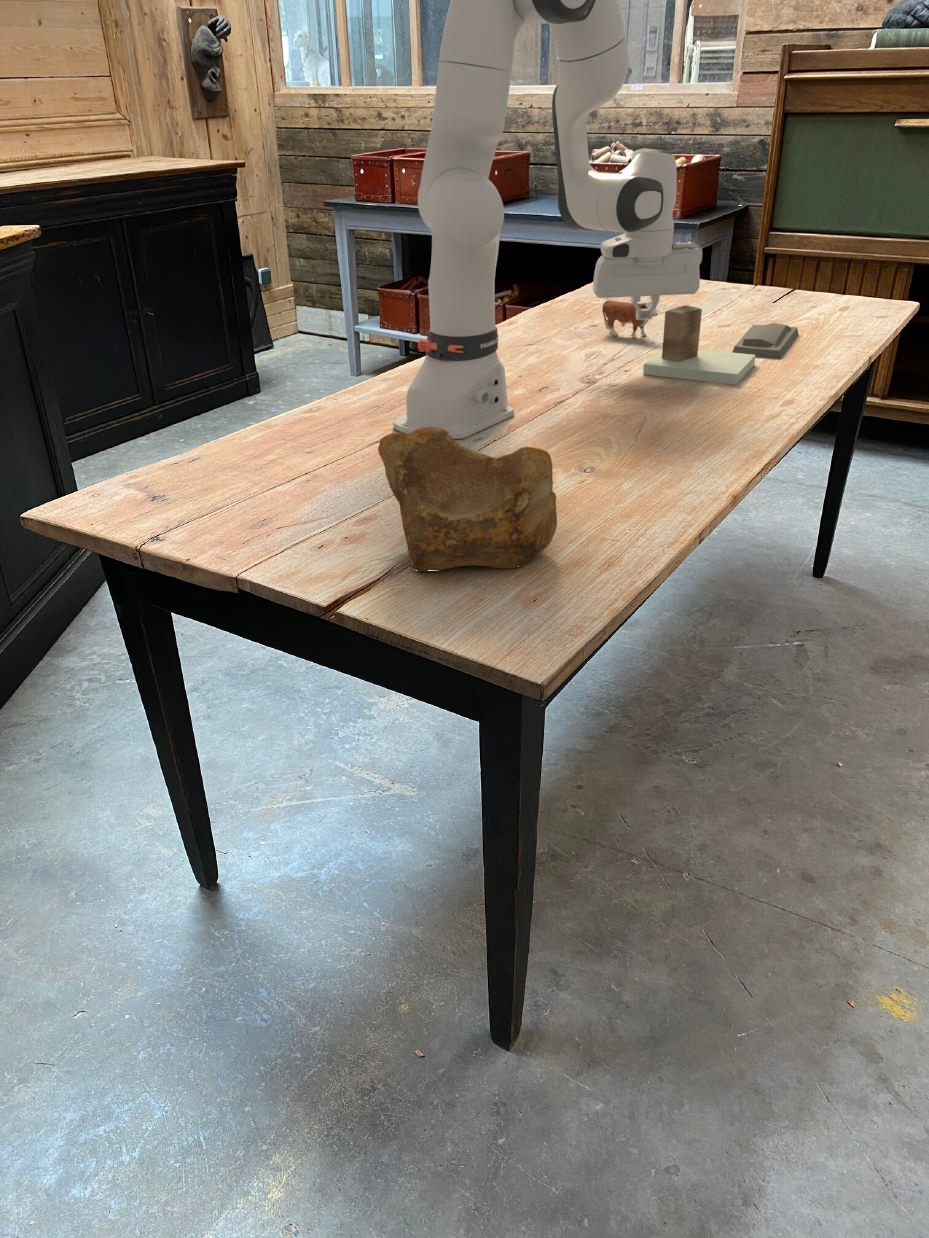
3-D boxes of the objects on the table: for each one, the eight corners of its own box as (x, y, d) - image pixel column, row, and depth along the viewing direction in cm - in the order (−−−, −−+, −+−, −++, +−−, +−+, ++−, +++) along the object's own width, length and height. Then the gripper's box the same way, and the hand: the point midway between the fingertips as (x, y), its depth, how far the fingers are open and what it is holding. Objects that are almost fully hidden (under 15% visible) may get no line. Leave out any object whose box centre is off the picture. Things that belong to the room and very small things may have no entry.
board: (736, 385, 174) (737, 374, 173) (643, 374, 182) (643, 364, 181) (754, 365, 185) (755, 354, 184) (665, 355, 192) (666, 346, 191)
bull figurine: (652, 342, 201) (655, 303, 197) (598, 334, 209) (599, 296, 204) (662, 338, 204) (665, 299, 200) (608, 330, 211) (609, 292, 207)
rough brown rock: (344, 577, 116) (330, 470, 108) (400, 514, 129) (392, 412, 120) (520, 613, 109) (520, 501, 100) (562, 542, 121) (565, 437, 113)
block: (678, 362, 181) (682, 313, 176) (661, 358, 184) (665, 310, 179) (697, 356, 184) (702, 307, 180) (681, 352, 187) (685, 304, 182)
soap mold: (798, 337, 204) (801, 320, 202) (780, 361, 188) (783, 343, 187) (750, 333, 208) (752, 317, 206) (729, 356, 193) (731, 339, 191)
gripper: (699, 239, 180) (692, 312, 187) (592, 243, 179) (590, 317, 186) (707, 244, 174) (700, 320, 181) (598, 249, 174) (595, 325, 181)
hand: (643, 319), depth 184 cm, fingers closed
